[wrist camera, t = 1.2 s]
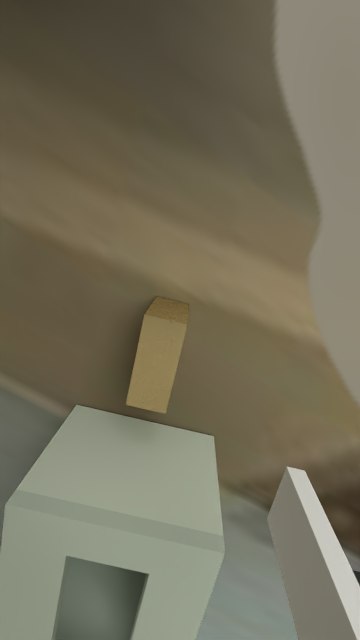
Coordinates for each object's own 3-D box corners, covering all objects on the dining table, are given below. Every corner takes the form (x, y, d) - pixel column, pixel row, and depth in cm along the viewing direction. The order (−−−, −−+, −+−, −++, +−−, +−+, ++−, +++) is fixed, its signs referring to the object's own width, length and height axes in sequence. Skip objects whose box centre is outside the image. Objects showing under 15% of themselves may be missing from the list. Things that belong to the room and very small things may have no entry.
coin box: (76, 404, 31) (5, 504, 19) (213, 436, 31) (225, 553, 19) (56, 529, 35) (-13, 673, 23) (178, 556, 35) (169, 712, 24)
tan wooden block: (156, 296, 28) (144, 314, 21) (189, 303, 28) (187, 324, 21) (141, 366, 30) (125, 404, 23) (172, 374, 30) (165, 413, 23)
